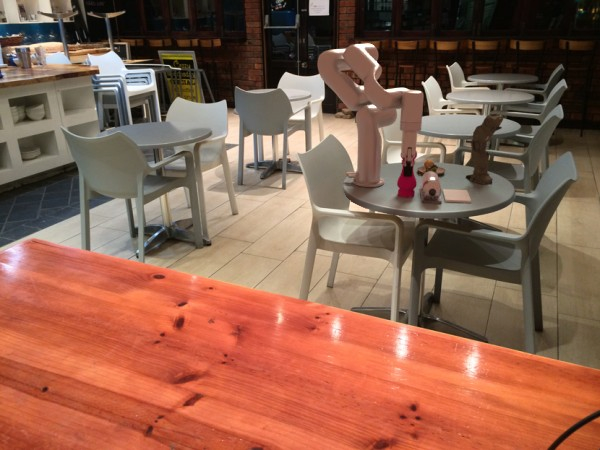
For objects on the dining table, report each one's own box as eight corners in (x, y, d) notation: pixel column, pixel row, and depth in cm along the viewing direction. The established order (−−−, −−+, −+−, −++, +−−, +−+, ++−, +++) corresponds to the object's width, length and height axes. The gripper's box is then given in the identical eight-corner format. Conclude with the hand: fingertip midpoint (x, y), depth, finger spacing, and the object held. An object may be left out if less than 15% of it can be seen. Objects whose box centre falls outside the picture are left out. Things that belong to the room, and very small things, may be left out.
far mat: (445, 201, 180) (445, 199, 179) (442, 191, 191) (442, 189, 190) (470, 202, 178) (471, 200, 178) (466, 192, 189) (467, 190, 189)
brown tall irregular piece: (457, 173, 208) (477, 109, 191) (470, 171, 210) (490, 107, 193) (478, 189, 198) (501, 123, 181) (491, 187, 201) (515, 121, 184)
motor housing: (421, 202, 179) (423, 183, 176) (419, 188, 194) (421, 170, 191) (441, 203, 178) (443, 184, 175) (438, 189, 193) (439, 171, 190)
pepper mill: (392, 193, 190) (395, 142, 182) (409, 190, 192) (412, 140, 184) (402, 199, 183) (406, 146, 176) (419, 196, 186) (423, 144, 178)
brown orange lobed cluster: (445, 178, 206) (447, 160, 203) (416, 176, 209) (418, 159, 206) (444, 170, 217) (446, 153, 214) (417, 168, 220) (418, 152, 217)
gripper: (400, 121, 186) (397, 167, 193) (400, 130, 170) (397, 180, 177) (420, 121, 184) (416, 168, 191) (422, 131, 169) (418, 181, 176)
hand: (407, 173), depth 184 cm, fingers closed on pepper mill, 5 cm apart
